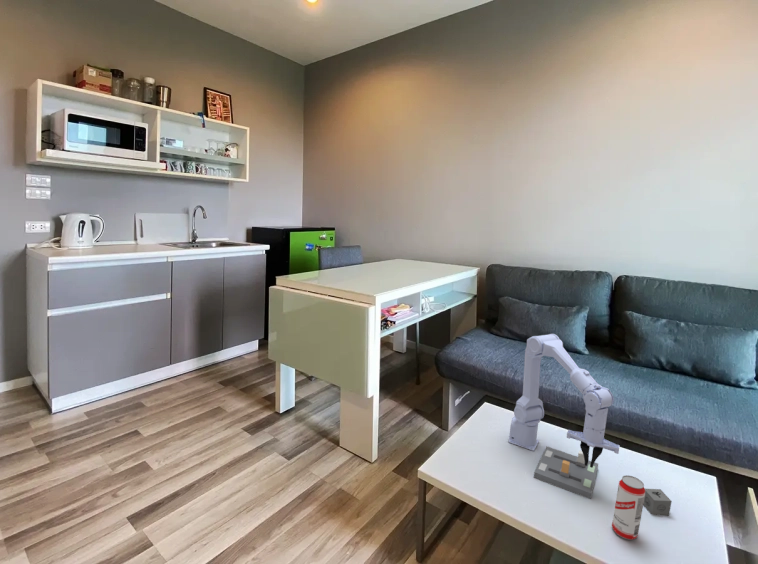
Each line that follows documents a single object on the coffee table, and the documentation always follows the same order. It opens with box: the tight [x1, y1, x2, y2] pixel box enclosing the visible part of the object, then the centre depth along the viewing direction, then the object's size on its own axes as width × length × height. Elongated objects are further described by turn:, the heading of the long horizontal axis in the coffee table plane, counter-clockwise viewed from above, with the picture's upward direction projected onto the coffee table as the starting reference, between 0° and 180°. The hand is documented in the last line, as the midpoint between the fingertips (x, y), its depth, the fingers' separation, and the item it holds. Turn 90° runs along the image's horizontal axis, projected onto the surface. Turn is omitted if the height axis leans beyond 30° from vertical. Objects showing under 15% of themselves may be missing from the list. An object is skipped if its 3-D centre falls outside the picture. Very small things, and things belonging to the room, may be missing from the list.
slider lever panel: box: [533, 445, 599, 500], centre depth 137 cm, size 17×18×2 cm
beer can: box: [611, 474, 646, 541], centre depth 111 cm, size 6×6×16 cm
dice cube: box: [643, 487, 672, 517], centre depth 121 cm, size 5×5×5 cm
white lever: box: [576, 450, 585, 468], centre depth 138 cm, size 3×2×4 cm
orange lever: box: [559, 460, 570, 478], centre depth 133 cm, size 3×2×4 cm
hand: (588, 465), depth 128 cm, fingers closed
